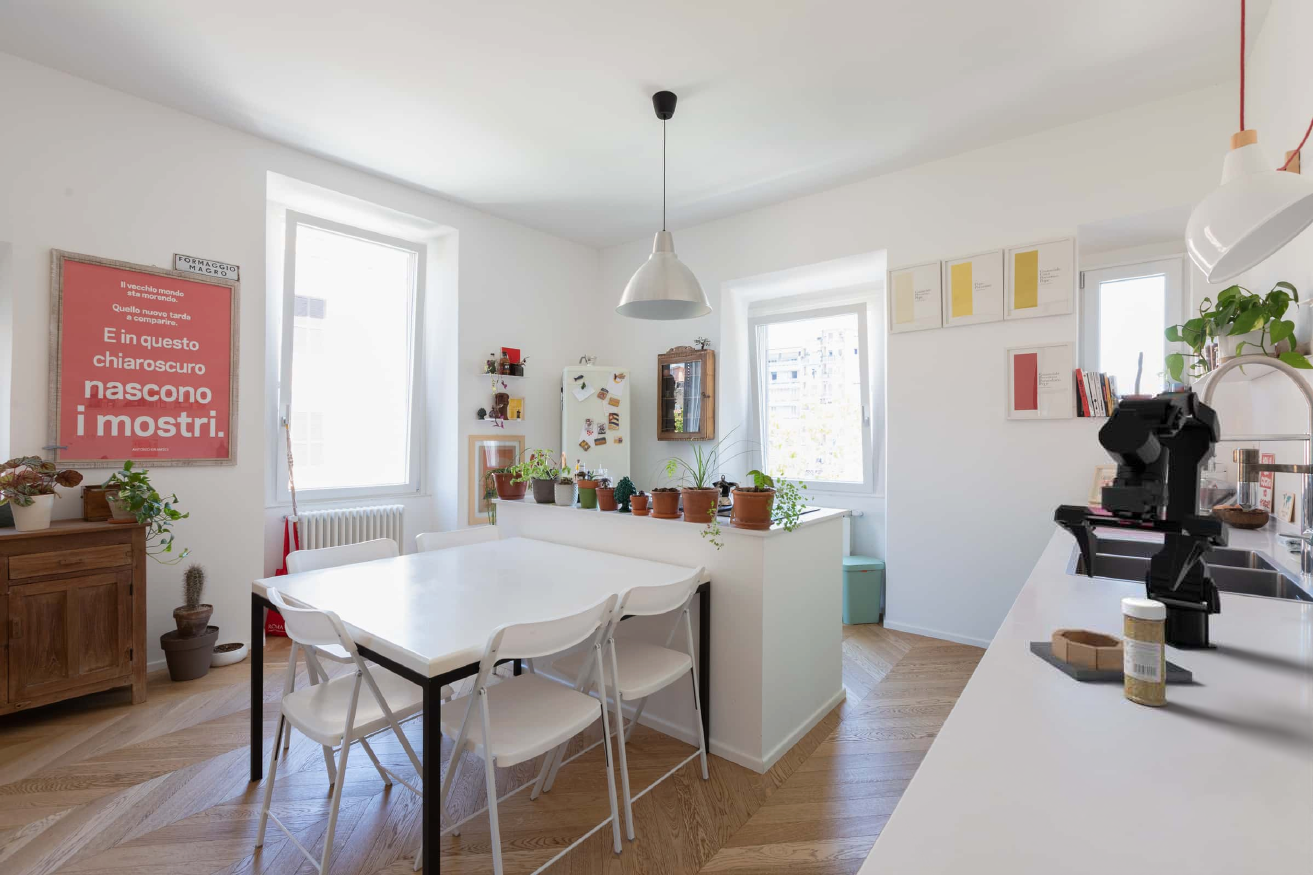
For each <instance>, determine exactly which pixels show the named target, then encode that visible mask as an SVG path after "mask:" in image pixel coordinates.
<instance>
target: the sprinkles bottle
mask: <svg viewBox="0 0 1313 875" xmlns="http://www.w3.org/2000/svg"><path fill="white" fill-rule="evenodd" d="M1121 603H1122V604H1121V612H1122V613H1123V614H1122V616H1123V641H1124V673H1125V682H1124V690H1123V696H1125V697H1126V698H1127V699H1129V700H1130V701H1133V702H1134V703H1136V704H1140V705H1144V706H1150V707H1151V706H1152V707H1162V706H1165V705H1166V704H1167V698H1166V682H1165V679H1166V660H1167V659H1166V654H1165V653H1166V650H1165V649H1166V648H1165V644H1166V643H1165V641H1164V640H1165V638H1164V621H1165V620H1164V619H1165V618H1166V607H1165V605H1164V604H1163V603H1161V602H1158V601H1154V600H1150V599H1147V598H1142V597H1125V598H1123V599H1122V601H1121Z"/></svg>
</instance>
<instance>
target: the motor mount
mask: <svg viewBox="0 0 1313 875" xmlns="http://www.w3.org/2000/svg"><path fill="white" fill-rule="evenodd" d="M1029 651H1030V652H1031V653H1033V654H1034V655H1036V656H1037V657H1039V658H1041V659H1043V661H1046V662H1047V663H1048V662H1049V665H1052V666H1053V667H1055V668H1057V669H1058V670H1059V671H1061V672H1063V673H1064V674H1065V675H1068V676H1069V677H1070V678H1072V679H1073V680H1075V681H1076V682H1077V681H1079V682H1084V681H1085V682H1122V683H1123V682H1124V683H1125V673H1124V639H1123V640H1122V639H1121V638H1118V637H1116V636H1115V635H1111V634H1107V633H1103V632H1098V631H1093V630H1087V629H1081V628H1080V629H1076V628H1074V629H1073V628H1070V629H1069V628H1066V629H1065V628H1059V629H1057V630H1056V631H1054V632H1053V633H1052V634H1051V641H1030V642H1029ZM1165 683H1171V684H1172V683H1173V684H1175V683H1176V684H1177V683H1178V684H1179V683H1180V684H1184V683H1185V684H1192V683H1193V672H1192V671H1190V670H1187V669H1185V668H1183V667H1181V666H1179V665H1177V664H1175V663H1172V662H1171V661H1169V660H1167V659H1166V679H1165Z"/></svg>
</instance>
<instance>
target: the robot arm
mask: <svg viewBox="0 0 1313 875" xmlns="http://www.w3.org/2000/svg"><path fill="white" fill-rule="evenodd" d="M1199 398H1200V397H1199V395H1198V392H1197V391H1191V390H1183V391H1182V390H1179V391H1163V392H1161V393H1157V394H1156V396H1154V397H1152V398H1137V399H1136V398H1135V399H1134V398H1133V399H1132V398H1131V399H1121V401H1119V402H1118V405H1117V407H1114V408H1113V411H1112V412H1111V414H1110V416H1109V417H1108V419H1107V422H1105V423H1104V424H1103V425H1102V426H1101V428H1100V430H1099V431H1098V433H1097V437H1098V438H1097V439H1098V441H1099V444H1100V445H1101V447H1103V450H1105V451H1106V453H1107V454H1108V455H1109V456H1110V458H1111V459H1112V460H1113V461H1114V462H1116V463H1117V465H1116V472H1115V477H1113V481H1112V486H1102V487H1101V506H1100V507H1101V510H1105V511H1106V513H1111V514H1099V513H1098V514H1097V513H1094V512H1093V511H1092V510H1091V509H1090V508H1089V507H1088V506H1085V505H1083V506H1082V505H1073V504H1071V505H1069V504H1060V505H1058V507H1057V508H1055V511H1054V516H1053V521H1054V522H1055V523H1056V524H1057V525H1058V526H1059V527H1061V528H1062V529H1063V530H1065V531H1067V532H1068V533H1069V534H1071V535H1072V536H1073V537H1075V539H1076V542H1077V544H1078V547H1079V549H1080V553H1081V556H1082V560H1083V564H1084V568H1085V572H1086V575H1087V578H1090V579H1092V578H1094V574H1095V570H1096V561H1097V559H1096V558H1097V547H1098V546H1097V545H1098V536H1097V535H1096V534H1095V533H1094V531H1095V530H1097V528H1107V529H1114V530H1115V529H1116V530H1125V531H1127V530H1128V531H1136V532H1149V533H1155V534H1164V537H1163V546H1162V548H1161V549H1160V550H1158V552H1157V553H1154V554H1153V555H1152V556H1151V558H1150V567H1149V569H1146V572H1145V578H1144V580H1145V581H1144V584H1145V592H1146V599H1150V600H1154V601H1158V602H1161V603H1163V604H1164V605H1165V607H1166V618H1165V619H1164V620H1165V621H1164V638H1165V640H1164V641H1165V644H1167V645H1168V646H1172V647H1174V648H1176V649H1193V650H1194V649H1196V650H1197V649H1199V650H1200V649H1201V650H1202V649H1203V650H1204V649H1205V650H1217V649H1218V645H1216V644H1214V643H1211V642H1210V615H1211V616H1213V615H1220V614H1222V611H1221V610H1222V605H1221V597H1220V590H1219V587H1218V586H1217V584H1216V583H1215V580H1214V578H1213V577H1210V576H1211V574H1210V572H1211V570H1210V569H1211V568H1210V567H1209V566H1208V564H1207V563H1206V561H1205V559H1204V558H1203V557H1202V556H1203V554H1204V553H1206V552H1207V553H1214V552H1215V547H1217V548H1228V547H1229V541H1230V540H1229V538H1230V532H1229V531H1230V530H1229V528H1228V527H1227V524H1225V522H1224V520H1223V519H1221V518H1220V517H1218V515H1217V516H1216V515H1203V514H1200V510H1201V508H1200V507H1201V487H1202V486H1201V485H1202V484H1201V483H1202V469H1203V467H1205V465H1206V464H1207V463H1208V462H1209V461H1210V460H1211V458H1213V456H1214V455H1215V453H1216V444H1219V443H1220V441H1221V426H1220V422H1219V418H1218V413H1217V411H1216V410H1215V409H1213V408H1212V407H1210V406H1209V405H1206V403H1203V402H1202V401H1201V400H1199ZM1190 415H1191V416H1190ZM1164 507H1165V509H1164ZM1164 510H1165V514H1164ZM1164 515H1165V517H1164ZM1163 517H1164V518H1163Z"/></svg>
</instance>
